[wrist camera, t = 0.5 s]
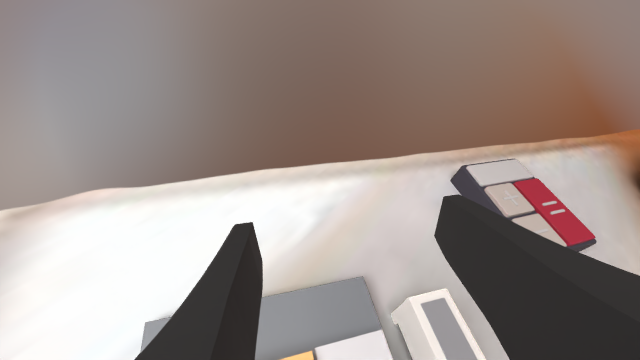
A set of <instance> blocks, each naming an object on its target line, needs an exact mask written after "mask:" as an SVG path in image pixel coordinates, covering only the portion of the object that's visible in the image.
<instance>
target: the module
mask: <svg viewBox="0 0 640 360" xmlns="http://www.w3.org/2000/svg"><path fill="white" fill-rule="evenodd" d="M390 315H391V317H392V320H393V322H394V325H397V324H398V325H399V327H400V330H401V332H402V334H403V337H404V339H405V342H406V344H407V347H408V349H409V352H410V354H411V357H412V359H413V360H486V359H485V357H484V355H483V353H482V351H481V350H480V348H479V346H478V344H477V342H476V341H475V339H474V337H473V335H472V333H471V332H470V330H469V328H468V326H467V324H466V323H465V321H464V319H463V317H462V315H461V314H460V312H459V310H458V308H457V306H456V305H455V303H454V301H453V299H452V297H451V296H450V294H449V292H448V290H447V288H444V289H440V290H436V291H432V292H428V293H424V294H420V295H416V296H412V297H408V298H407V299H406V300H405V301H404V302H403V303H402V304H401V305H400V306H399V307H398V308H397V309H395V310H394V311H393V312H392V313H391V314H390Z"/></svg>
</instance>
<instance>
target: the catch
mask: <svg viewBox="0 0 640 360" xmlns="http://www.w3.org/2000/svg"><path fill="white" fill-rule="evenodd" d="M280 360H314V358H313V353H312V351H309V352H305V353H302V354H298V355H294V356H291V357H287V358H284V359H280Z"/></svg>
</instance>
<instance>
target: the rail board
mask: <svg viewBox="0 0 640 360" xmlns="http://www.w3.org/2000/svg"><path fill="white" fill-rule="evenodd" d="M170 318H171V317H169V318H164V319H159V320H155V321H150V322H145V327H144V333H143V340H142V346H141V352H142V351H143V350H144V348H145V347H146V346H147V345H148V344H149V343H150V342H151V341H152V340H153V338H154V337H155V336H156V335H157V334H158V333H159V332H160V330H161V329H162V328H163V327H164V326H165V324H166V323H167V322H168V321H169V320H170ZM309 351H312V353H313V358H314V360H393V357H392V355H391V352H390V349H389V346H388V344H387V341H386V338H385V335H384V333H383V330H382V327H381V324H380V322H379V319H378V316H377V314H376V311H375V308H374V305H373V303H372V300H371V297H370V294H369V292H368V289H367V286H366V283H365V281H364V278H363V276H362V277H358V278H353V279H348V280H343V281H339V282H334V283H329V284H325V285H320V286H315V287H310V288H306V289H301V290H296V291H291V292H287V293H282V294H277V295H273V296H268V297H263V298H261V307H260V316H259V325H258V334H257V343H256V352H255V360H280V359H284V358H287V357H291V356H294V355H298V354H302V353H305V352H309Z"/></svg>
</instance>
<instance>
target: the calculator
mask: <svg viewBox="0 0 640 360" xmlns="http://www.w3.org/2000/svg"><path fill="white" fill-rule="evenodd" d="M451 182H452V184H453V185H454V186H455V187H456V189H457V190H458V191H459V192H460V194H461V195H462V196H463V197H466V198H468V199H470V200H472V201H474V202H476V203H478V204H480V205H482V206H484V207H485V208H487V209H489V210H491V211H493V212H495V213H497V214H499V215H501V216H503V217H505V218H507V219H509V220H511V221H513V222H514V223H516V224H518V225H520V226H522V227H524V228H526V229H528V230H530V231H533V232H535V233H537V234H539V235H541V236H543V237H545V238H547V239H549V240H552V241H554V242H556V243H558V244H560V245H562V246H565V247H567V248H569V249H572V250H574V251H576V252H579V251H581V250H583V249H585V248H588V247H590V246H592V245H594V244H596V240H595V239H594V238H595V236H594V235H593V234H592V233H591V232H590V231H589V230H588V229H587V227H586V226H585V225H584V224H583V223H582V222H581V221H580V220H579V219H578V218H577V217H576V216H575V215H574V214H573V213H572V212H571V211H570V210H569V209H568V208H567V207H566V206H565V205H564V204H563V203H562V202H561V201H560V200H559V199H558V198H557V197H556V196H555V195H554V194H553V193H552V192H551V191H550V190H549V189H548V188H547V187H546V186H545V185H544V184H543V183H542V182H541V181H540V180H539V179H537V178H534V176H533V175H532V174H531V173H530V172H529V171H528V170H527V169H526V168H525V167H524V166H523V165H522V164H521V163H520V162H519V161H518V160H517V159H507V160H500V161H493V162H485V163H478V164H471V165H464V166H462V167H461V168H460V169H459V170H458V172H457V173H456V174H455V175H454V176H453V178H452V179H451Z"/></svg>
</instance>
